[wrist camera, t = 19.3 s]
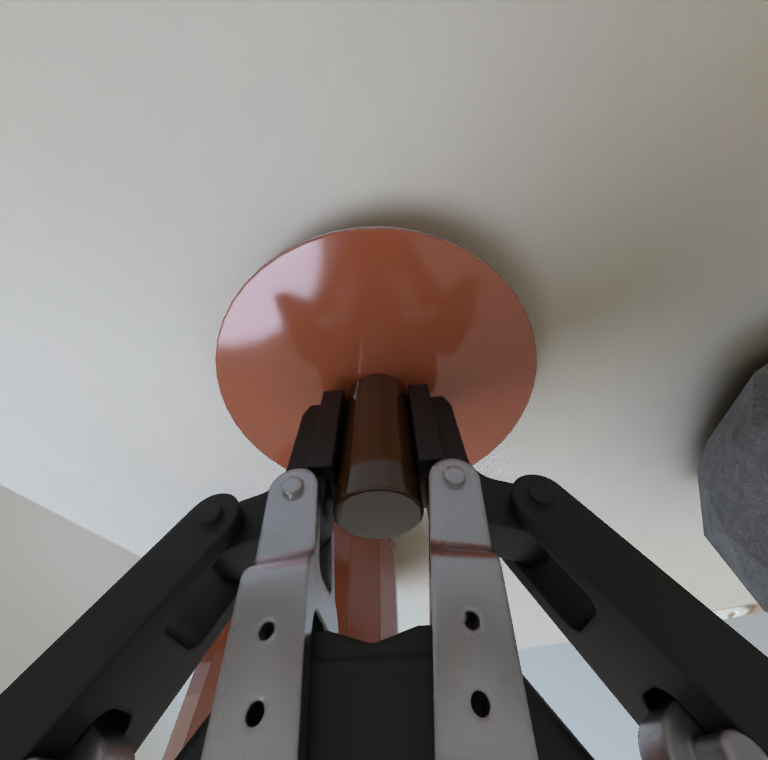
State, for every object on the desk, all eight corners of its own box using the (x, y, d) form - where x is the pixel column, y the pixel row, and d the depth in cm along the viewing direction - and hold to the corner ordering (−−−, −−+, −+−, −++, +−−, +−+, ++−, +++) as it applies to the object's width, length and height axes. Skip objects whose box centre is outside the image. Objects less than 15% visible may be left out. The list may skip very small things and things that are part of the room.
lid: (276, 481, 17) (233, 615, 12) (168, 239, 10) (-52, 319, 5) (502, 466, 16) (556, 599, 11) (559, 204, 9) (767, 251, 4)
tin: (268, 590, 26) (215, 795, 18) (218, 517, 20) (96, 782, 11) (398, 583, 26) (408, 791, 17) (389, 507, 20) (397, 775, 11)
